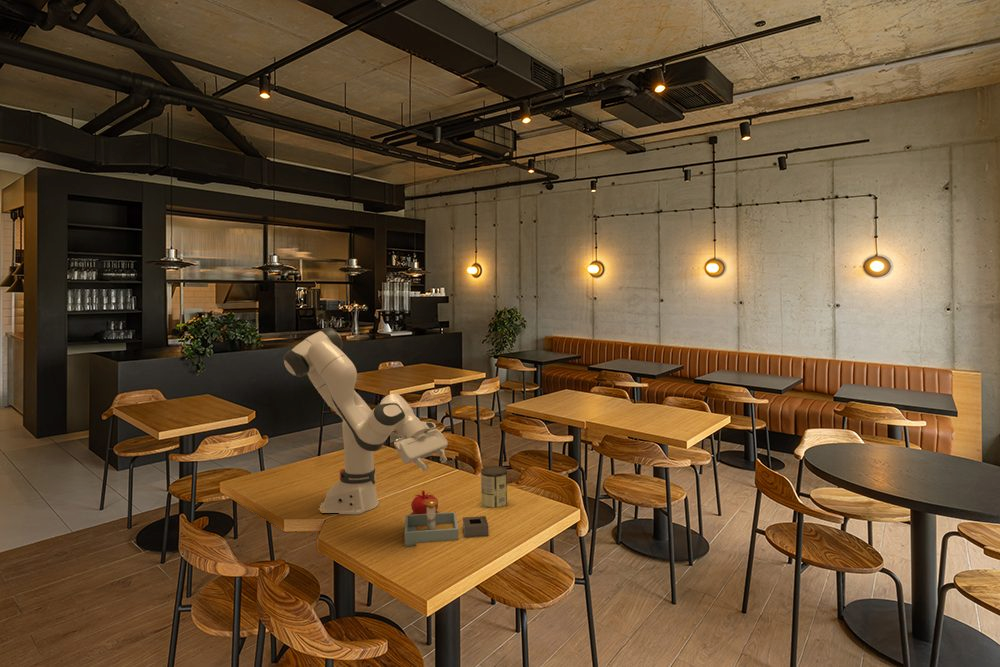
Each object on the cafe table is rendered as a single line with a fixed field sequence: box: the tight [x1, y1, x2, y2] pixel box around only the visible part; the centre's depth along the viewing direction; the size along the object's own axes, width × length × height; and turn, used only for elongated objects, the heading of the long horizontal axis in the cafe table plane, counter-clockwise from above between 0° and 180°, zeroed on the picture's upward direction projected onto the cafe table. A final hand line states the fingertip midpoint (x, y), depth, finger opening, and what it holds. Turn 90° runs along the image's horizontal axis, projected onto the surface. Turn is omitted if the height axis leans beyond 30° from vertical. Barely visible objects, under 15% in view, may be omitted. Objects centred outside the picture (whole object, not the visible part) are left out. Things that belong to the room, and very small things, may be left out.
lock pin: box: [425, 499, 439, 530], centre depth 183 cm, size 4×4×11 cm
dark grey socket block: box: [462, 515, 489, 538], centre depth 183 cm, size 8×8×4 cm
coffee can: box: [480, 465, 508, 509], centre depth 209 cm, size 10×10×14 cm
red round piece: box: [410, 490, 439, 515], centre depth 200 cm, size 10×10×9 cm
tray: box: [404, 511, 459, 547], centre depth 183 cm, size 18×15×4 cm
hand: (435, 465), depth 181 cm, fingers open, 8 cm apart
